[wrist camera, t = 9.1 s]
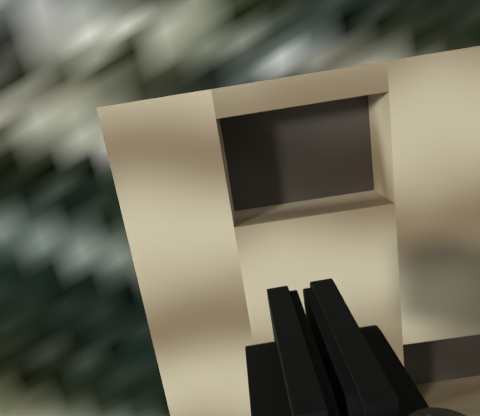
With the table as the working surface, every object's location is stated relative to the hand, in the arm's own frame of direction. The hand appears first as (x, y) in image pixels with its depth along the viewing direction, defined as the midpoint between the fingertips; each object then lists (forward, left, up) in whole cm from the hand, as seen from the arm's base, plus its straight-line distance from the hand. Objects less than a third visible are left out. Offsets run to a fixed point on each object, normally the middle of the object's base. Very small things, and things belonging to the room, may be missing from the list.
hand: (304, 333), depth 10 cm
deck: (+2, +5, -8) cm, 9 cm away
